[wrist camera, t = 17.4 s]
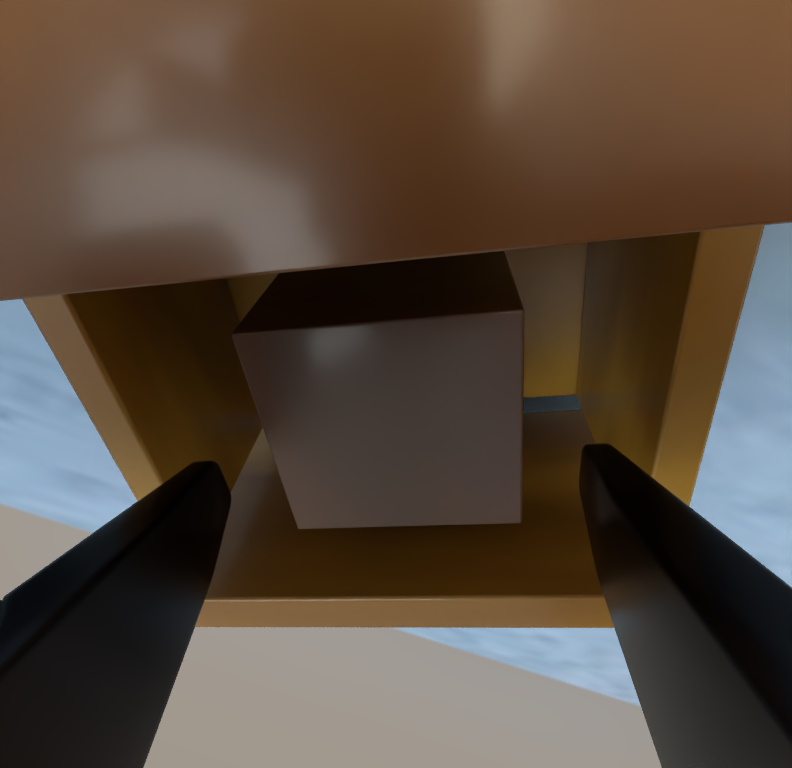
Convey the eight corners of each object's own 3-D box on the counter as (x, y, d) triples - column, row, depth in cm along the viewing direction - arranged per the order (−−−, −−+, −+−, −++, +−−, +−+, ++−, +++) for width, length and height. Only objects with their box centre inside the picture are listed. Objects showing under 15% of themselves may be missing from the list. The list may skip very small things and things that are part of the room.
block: (496, 223, 12) (525, 308, 8) (499, 393, 15) (522, 524, 10) (299, 245, 13) (229, 334, 9) (336, 403, 15) (297, 530, 11)
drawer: (597, 521, 19) (665, 720, 13) (286, 529, 20) (226, 708, 15) (673, -50, 10) (984, -204, 4) (112, 47, 12) (-207, 29, 6)
